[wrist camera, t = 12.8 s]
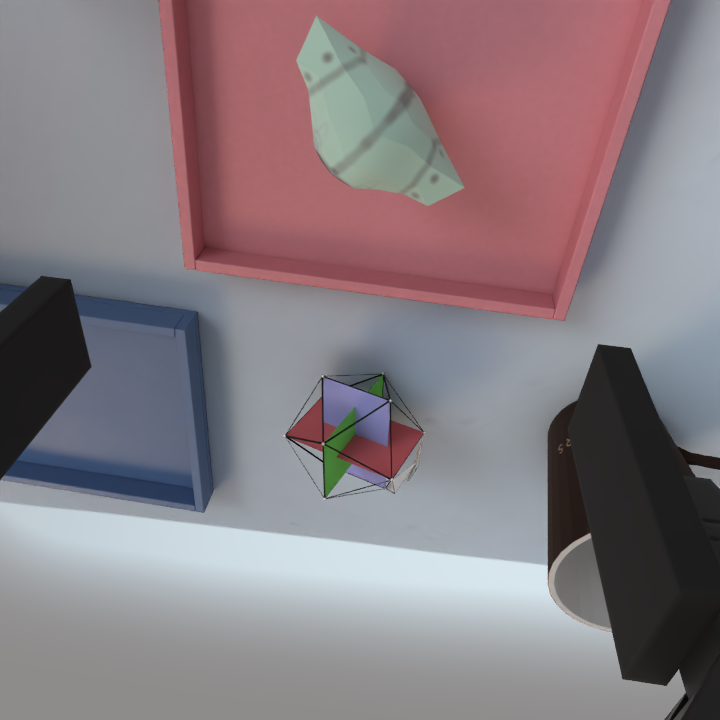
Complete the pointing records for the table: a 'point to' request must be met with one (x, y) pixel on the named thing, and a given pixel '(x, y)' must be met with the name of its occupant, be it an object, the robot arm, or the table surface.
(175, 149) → the rose tray
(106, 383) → the blue tray
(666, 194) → the table surface
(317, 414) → the wire icosahedron model
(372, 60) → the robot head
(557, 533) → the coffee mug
